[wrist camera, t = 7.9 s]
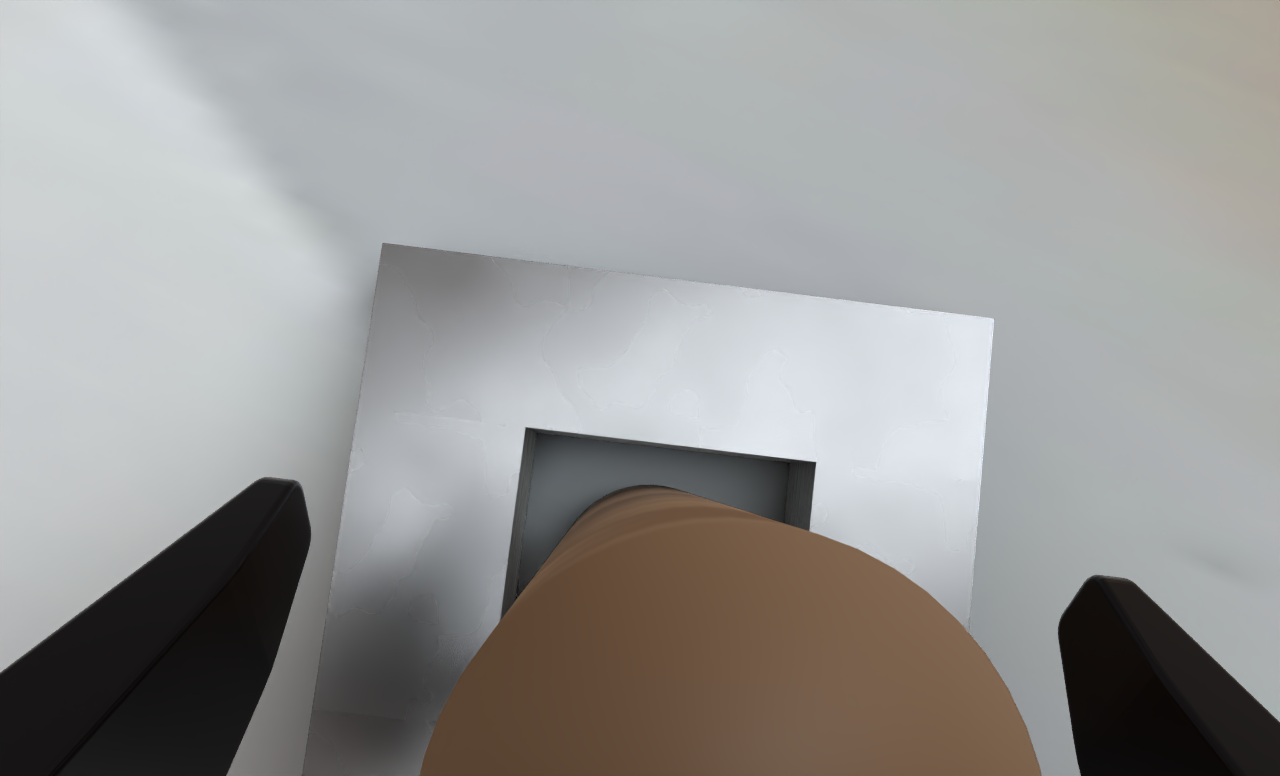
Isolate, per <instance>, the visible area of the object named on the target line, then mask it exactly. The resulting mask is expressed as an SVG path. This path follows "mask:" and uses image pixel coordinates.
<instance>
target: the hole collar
mask: <svg viewBox="0 0 1280 776" xmlns="http://www.w3.org/2000/svg"><path fill="white" fill-rule="evenodd" d="M993 326H994V318H986V317H978V316H970V315H961V314H953V313H945V312H937V311H929V310H921V309H913V308H905V307H897V306H889V305H881V304H872V303H864V302H856V301H848V300H840V299H832V298H824V297H816V296H808V295H800V294H792V293H783V292H775V291H767V290H759V289H751V288H743V287H735V286H727V285H719V284H711V283H703V282H694V281H686V280H678V279H670V278H662V277H654V276H646V275H638V274H630V273H622V272H614V271H605V270H597V269H589V268H581V267H573V266H565V265H557V264H549V263H541V262H533V261H525V260H517V259H508V258H500V257H492V256H484V255H476V254H468V253H460V252H452V251H444V250H436V249H428V248H419V247H411V246H403V245H395V244H387V243H382V250H381V256H380V263H379V270H378V276H377V283H376V289H375V296H374V303H373V309H372V316H371V323H370V329H369V336H368V343H367V349H366V356H365V362H364V369H363V376H362V382H361V389H360V396H359V402H358V409H357V416H356V422H355V429H354V435H353V442H352V449H351V455H350V462H349V469H348V475H347V482H346V488H345V495H344V502H343V508H342V515H341V522H340V528H339V535H338V542H337V548H336V555H335V561H334V568H333V575H332V581H331V588H330V595H329V601H328V608H327V614H326V621H325V628H324V634H323V641H322V648H321V654H320V661H319V668H318V674H317V681H316V687H315V694H314V701H313V707H312V714H311V721H310V727H309V734H308V741H307V747H306V754H305V760H304V767H303V774H302V776H419V775H420V771H421V767H422V763H423V759H424V755H425V752H426V749H427V747H428V744H429V742H430V739H431V736H432V734H433V731H434V729H435V726H436V723H437V721H438V718H439V716H440V713H441V711H442V709H443V707H444V706H445V704H446V702H447V700H448V698H449V696H450V694H451V693H452V691H453V689H454V687H455V685H456V683H457V681H458V680H459V678H460V676H461V674H462V673H463V671H464V670H465V669H466V667H467V666H468V664H469V663H470V662H471V660H472V659H473V657H474V656H475V655H476V653H477V652H478V650H479V649H480V648H481V646H482V645H483V643H484V642H485V641H486V639H487V638H488V637H489V635H490V634H491V633H492V631H493V630H494V629H495V627H496V626H497V625H498V623H499V622H500V621H501V619H502V618H503V617H504V615H505V614H506V613H507V611H508V610H509V609H510V607H511V606H512V605H513V603H514V602H515V599H516V591H517V584H518V576H519V568H520V561H521V553H522V545H523V538H524V530H525V522H526V515H527V507H528V499H529V492H530V484H531V476H532V469H533V461H534V453H535V446H536V438H537V433H545V434H554V435H562V436H570V437H579V438H587V439H595V440H604V441H612V442H620V443H629V444H637V445H645V446H654V447H662V448H670V449H679V450H687V451H695V452H704V453H712V454H720V455H729V456H737V457H745V458H753V459H762V460H770V461H778V462H787V463H790V469H789V478H788V488H787V498H786V508H785V518H784V523H785V524H788V525H791V526H794V527H797V528H801V529H804V530H807V531H810V532H813V533H816V534H820V535H822V536H825V537H828V538H830V539H833V540H836V541H838V542H841V543H844V544H846V545H849V546H852V547H854V548H857V549H859V550H861V551H863V552H865V553H867V554H868V555H870V556H872V557H874V558H876V559H878V560H880V561H882V562H883V563H885V564H887V565H889V566H891V567H893V568H895V569H896V570H897V571H899V572H900V573H902V574H903V575H904V576H906V577H907V578H909V579H910V580H911V581H913V582H914V583H916V584H917V585H918V586H920V587H921V588H923V589H924V590H925V591H927V592H928V593H929V594H930V595H931V596H932V597H933V598H935V599H936V600H937V601H938V602H939V603H940V604H941V605H942V606H943V607H944V608H945V609H946V610H947V611H949V612H950V613H951V614H952V615H953V616H954V617H955V618H956V619H957V620H958V621H959V622H960V623H961V624H962V626H963V627H964V628H965V629H966V630H967V632H968V633H969V623H970V611H971V598H972V586H973V573H974V561H975V549H976V536H977V524H978V511H979V499H980V487H981V474H982V462H983V450H984V437H985V425H986V412H987V400H988V388H989V375H990V363H991V351H992V338H993Z"/></svg>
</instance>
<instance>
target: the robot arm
mask: <svg viewBox="0 0 1280 776" xmlns="http://www.w3.org/2000/svg"><path fill="white" fill-rule="evenodd" d="M310 541H311V527H310V522H309V517H308V512H307V507H306V502H305V497H304V493H303V489H302V486H301V485H300V483H299V482H297V481H295V480H289V479H281V478H272V477H264V478H261V479H259V480H257V481H255V482H254V483H252V484H251V485H250V486H248V487H247V488H246V489H244V490H243V491H242V492H240V493H239V494H238V495H236V496H235V497H234V498H232V499H231V500H230V501H228V502H227V503H226V504H224V505H223V506H222V507H220V508H219V509H218V510H216V511H215V512H214V513H212V514H211V515H210V516H208V517H207V518H206V519H204V520H203V521H202V522H200V523H199V524H198V525H196V526H195V527H194V528H192V529H191V530H190V531H188V532H187V533H186V534H184V535H183V536H182V537H180V538H179V539H178V540H176V541H175V542H174V543H172V544H171V545H170V546H168V547H167V548H166V549H164V550H163V551H162V552H160V553H159V554H158V555H156V556H155V557H154V558H152V559H151V560H150V561H148V562H147V563H146V564H144V565H143V566H142V567H140V568H139V569H138V570H136V571H135V572H134V573H132V574H131V575H130V576H128V577H127V578H126V579H124V580H123V581H122V582H120V583H119V584H118V585H116V586H115V587H114V588H112V589H111V590H110V591H108V592H107V593H106V594H104V595H103V596H102V597H100V598H99V599H98V600H96V601H95V602H94V603H92V604H91V605H90V606H88V607H87V608H86V609H84V610H83V611H82V612H80V613H79V614H78V615H76V616H75V617H74V618H72V619H71V620H70V621H68V622H67V623H66V624H64V625H63V626H62V627H60V628H59V629H58V630H56V631H55V632H54V633H52V634H51V635H50V636H48V637H47V638H46V639H44V640H43V641H42V642H40V643H39V644H38V645H36V646H35V647H34V648H32V649H31V650H30V651H28V652H27V653H26V654H24V655H23V656H22V657H21V658H19V659H18V660H17V661H15V662H14V663H13V664H11V665H10V666H9V667H7V668H6V669H5V670H3V671H2V672H1V673H0V776H226V775H227V773H228V770H229V768H230V766H231V763H232V761H233V759H234V757H235V754H236V752H237V750H238V747H239V745H240V743H241V741H242V738H243V736H244V734H245V731H246V729H247V727H248V725H249V722H250V720H251V718H252V715H253V713H254V711H255V708H256V706H257V704H258V702H259V699H260V697H261V695H262V692H263V690H264V688H265V685H266V683H267V680H268V678H269V675H270V673H271V670H272V667H273V664H274V661H275V658H276V655H277V652H278V649H279V645H280V642H281V639H282V636H283V632H284V629H285V626H286V622H287V619H288V616H289V613H290V609H291V606H292V603H293V599H294V596H295V593H296V590H297V586H298V583H299V580H300V577H301V573H302V570H303V567H304V563H305V560H306V557H307V554H308V550H309V546H310ZM1058 639H1059V645H1060V652H1061V659H1062V665H1063V672H1064V678H1065V685H1066V692H1067V698H1068V705H1069V712H1070V718H1071V725H1072V731H1073V738H1074V744H1075V750H1076V755H1077V761H1078V765H1079V769H1080V774H1081V776H1280V722H1279V721H1278V720H1277V719H1276V718H1275V717H1274V716H1273V715H1272V714H1271V713H1270V712H1269V711H1268V710H1266V709H1265V708H1264V707H1263V706H1262V705H1261V704H1260V703H1259V702H1258V701H1257V700H1256V699H1255V698H1254V697H1253V696H1252V695H1251V694H1250V693H1249V692H1248V691H1247V690H1246V689H1245V688H1244V687H1243V686H1241V685H1240V684H1239V683H1238V682H1237V681H1236V680H1235V679H1234V678H1233V677H1232V676H1231V675H1230V674H1229V673H1228V672H1227V671H1226V670H1225V669H1224V668H1223V667H1222V666H1221V665H1220V664H1219V663H1218V662H1216V661H1215V660H1214V659H1213V658H1212V657H1211V656H1210V655H1209V654H1208V653H1207V652H1206V651H1205V650H1204V649H1203V648H1202V647H1201V646H1200V645H1199V644H1198V643H1197V642H1196V641H1195V640H1194V639H1193V638H1191V637H1190V636H1189V635H1188V634H1187V633H1186V632H1185V631H1184V630H1183V629H1182V628H1181V627H1180V626H1179V625H1178V624H1177V623H1176V622H1175V621H1174V620H1173V619H1172V618H1171V617H1170V616H1169V615H1168V614H1166V613H1165V612H1164V611H1163V610H1162V609H1161V608H1160V607H1159V606H1158V605H1157V604H1156V603H1155V602H1154V601H1153V600H1152V599H1151V598H1150V597H1149V596H1148V595H1147V594H1146V593H1145V592H1144V591H1143V590H1141V589H1140V588H1139V587H1138V586H1137V585H1136V584H1135V583H1134V582H1132V581H1130V580H1128V579H1125V578H1119V577H1111V576H1103V575H1093V576H1091V577H1090V578H1088V579H1087V580H1086V581H1085V582H1084V584H1083V585H1082V586H1081V588H1080V589H1079V591H1078V592H1077V594H1076V595H1075V597H1074V598H1073V600H1072V601H1071V602H1070V604H1069V605H1068V607H1067V608H1066V610H1065V611H1064V613H1063V614H1062V616H1061V619H1060V622H1059V627H1058Z"/></svg>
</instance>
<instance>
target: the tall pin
mask: <svg viewBox="0 0 1280 776" xmlns="http://www.w3.org/2000/svg"><path fill="white" fill-rule="evenodd" d="M419 776H1041V771H1040V767H1039V764H1038V761H1037V758H1036V755H1035V752H1034V749H1033V746H1032V743H1031V740H1030V737H1029V734H1028V731H1027V728H1026V725H1025V723H1024V721H1023V719H1022V717H1021V715H1020V713H1019V711H1018V708H1017V706H1016V704H1015V702H1014V700H1013V698H1012V696H1011V694H1010V692H1009V690H1008V688H1007V686H1006V685H1005V683H1004V681H1003V680H1002V678H1001V677H1000V675H999V674H998V672H997V671H996V669H995V667H994V666H993V664H992V663H991V661H990V660H989V658H988V656H987V655H986V653H985V652H984V651H983V650H982V648H981V647H980V646H979V645H978V644H977V642H976V641H975V640H974V639H973V638H972V636H971V635H970V634H969V633H968V632H967V630H966V629H965V628H964V627H963V626H962V624H961V623H960V622H959V621H958V620H957V619H956V618H955V617H954V616H953V615H952V614H951V613H950V612H949V611H947V610H946V609H945V608H944V607H943V606H942V605H941V604H940V603H939V602H938V601H937V600H936V599H935V598H933V597H932V596H931V595H930V594H929V593H928V592H927V591H925V590H924V589H923V588H921V587H920V586H918V585H917V584H916V583H914V582H913V581H911V580H910V579H909V578H907V577H906V576H904V575H903V574H902V573H900V572H899V571H897V570H896V569H895V568H893V567H891V566H889V565H887V564H885V563H883V562H882V561H880V560H878V559H876V558H874V557H872V556H870V555H868V554H867V553H865V552H863V551H861V550H859V549H857V548H854V547H852V546H849V545H846V544H844V543H841V542H838V541H836V540H833V539H830V538H828V537H825V536H822V535H820V534H816V533H813V532H810V531H807V530H804V529H801V528H797V527H794V526H791V525H788V524H785V523H782V522H778V521H775V520H772V519H769V518H766V517H763V516H759V515H756V514H753V513H750V512H747V511H744V510H741V509H737V508H734V507H731V506H728V505H725V504H722V503H718V502H715V501H712V500H709V499H706V498H703V497H699V496H696V495H693V494H690V493H687V492H684V491H681V490H677V489H674V488H670V487H665V486H658V485H638V486H632V487H627V488H624V489H620V490H617V491H615V492H612V493H610V494H608V495H606V496H604V497H602V498H601V499H599V500H598V501H596V502H595V503H593V504H592V505H591V506H590V507H589V508H587V509H586V510H585V511H584V512H583V513H582V514H581V515H580V517H579V518H578V519H577V520H576V521H575V523H574V524H573V525H572V527H571V528H570V529H569V531H568V532H567V533H566V535H565V536H564V537H563V539H562V540H561V541H560V543H559V544H558V545H557V546H556V548H555V549H554V550H553V552H552V553H551V554H550V556H549V557H548V558H547V560H546V561H545V562H544V564H543V565H542V566H541V568H540V569H539V570H538V572H537V573H536V574H535V576H534V577H533V578H532V580H531V581H530V582H529V584H528V585H527V586H526V588H525V589H524V590H523V592H522V593H521V594H520V595H519V597H518V598H517V599H516V601H515V602H514V603H513V605H512V606H511V607H510V609H509V610H508V611H507V613H506V614H505V615H504V617H503V618H502V619H501V621H500V622H499V623H498V625H497V626H496V627H495V629H494V630H493V631H492V633H491V634H490V635H489V637H488V638H487V639H486V641H485V642H484V643H483V645H482V646H481V648H480V649H479V650H478V652H477V653H476V655H475V656H474V657H473V659H472V660H471V662H470V663H469V664H468V666H467V667H466V669H465V670H464V671H463V673H462V674H461V676H460V678H459V680H458V681H457V683H456V685H455V687H454V689H453V691H452V693H451V694H450V696H449V698H448V700H447V702H446V704H445V706H444V707H443V709H442V711H441V713H440V716H439V718H438V721H437V723H436V726H435V729H434V731H433V734H432V736H431V739H430V742H429V744H428V747H427V749H426V752H425V755H424V759H423V763H422V767H421V771H420V775H419Z"/></svg>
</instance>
